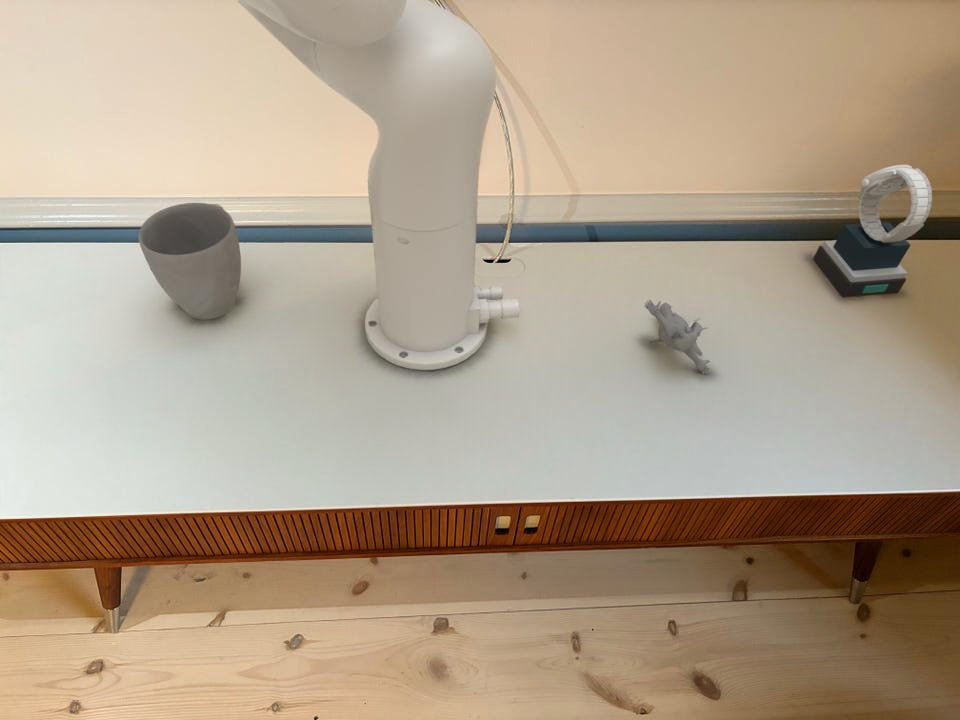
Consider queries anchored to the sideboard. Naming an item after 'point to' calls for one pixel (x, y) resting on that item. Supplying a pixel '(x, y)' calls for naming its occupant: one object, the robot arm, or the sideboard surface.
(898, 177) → the watch
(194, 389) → the sideboard surface
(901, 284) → the scale
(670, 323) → the grey creature figurine
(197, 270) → the mug
